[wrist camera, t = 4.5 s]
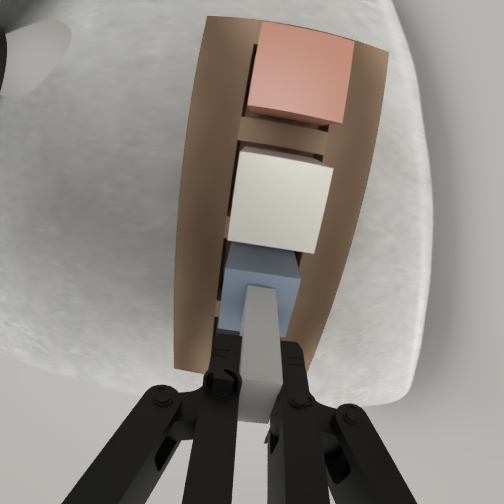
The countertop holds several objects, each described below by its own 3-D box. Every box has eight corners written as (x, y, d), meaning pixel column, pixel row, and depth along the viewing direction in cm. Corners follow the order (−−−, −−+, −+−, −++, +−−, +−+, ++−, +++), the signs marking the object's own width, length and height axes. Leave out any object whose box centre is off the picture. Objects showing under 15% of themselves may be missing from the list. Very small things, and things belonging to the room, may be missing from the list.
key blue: (226, 285, 21) (217, 328, 17) (233, 234, 20) (225, 267, 15) (280, 293, 21) (285, 337, 17) (292, 243, 20) (301, 278, 15)
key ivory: (236, 211, 18) (227, 240, 13) (245, 146, 16) (239, 151, 12) (300, 221, 18) (314, 253, 13) (313, 158, 16) (333, 168, 12)
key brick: (251, 113, 15) (247, 105, 11) (261, 51, 14) (262, 21, 9) (319, 125, 16) (342, 123, 11) (329, 64, 14) (354, 41, 9)
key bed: (183, 339, 26) (174, 368, 23) (216, 35, 16) (207, 16, 13) (297, 355, 27) (301, 385, 23) (367, 64, 17) (388, 52, 13)
